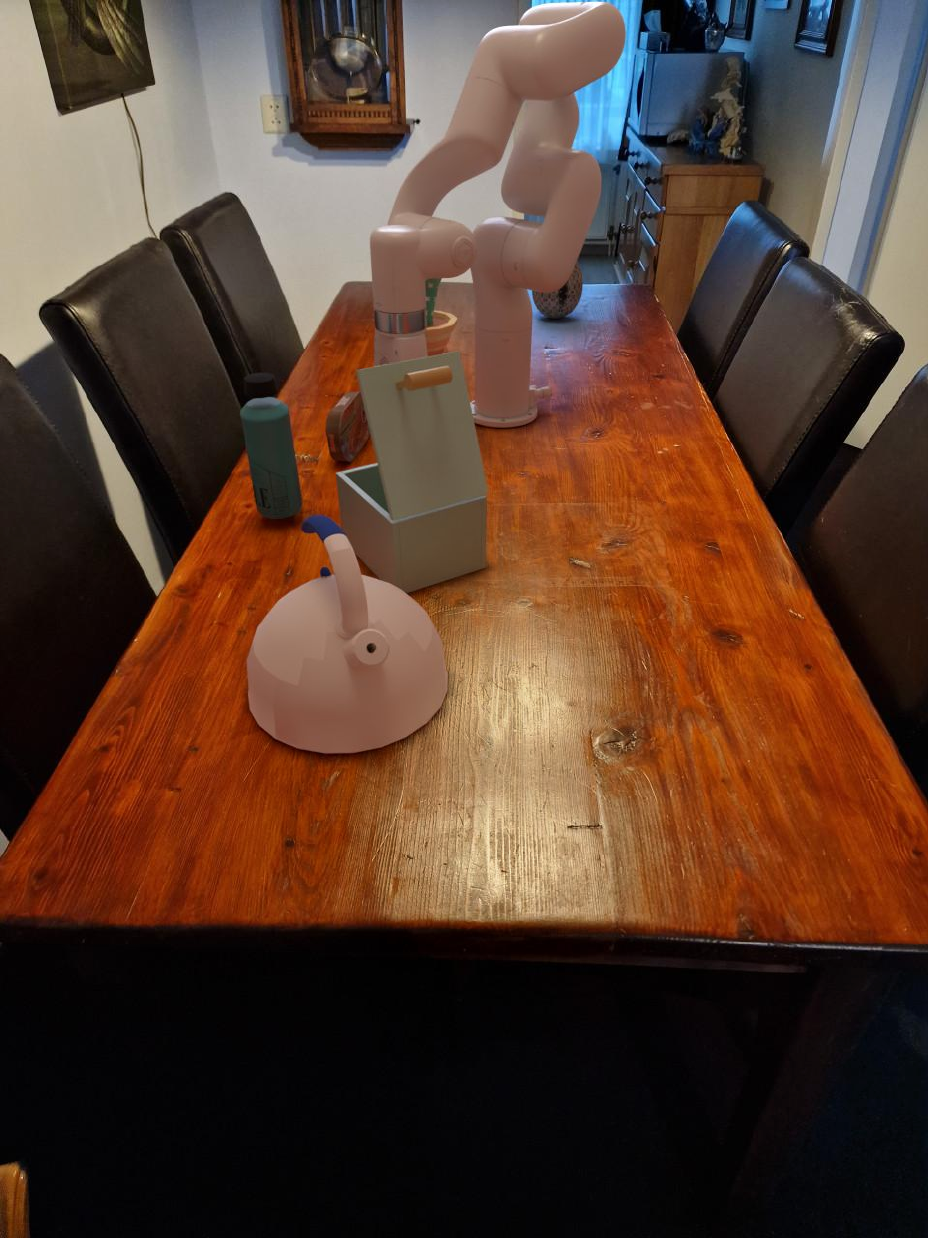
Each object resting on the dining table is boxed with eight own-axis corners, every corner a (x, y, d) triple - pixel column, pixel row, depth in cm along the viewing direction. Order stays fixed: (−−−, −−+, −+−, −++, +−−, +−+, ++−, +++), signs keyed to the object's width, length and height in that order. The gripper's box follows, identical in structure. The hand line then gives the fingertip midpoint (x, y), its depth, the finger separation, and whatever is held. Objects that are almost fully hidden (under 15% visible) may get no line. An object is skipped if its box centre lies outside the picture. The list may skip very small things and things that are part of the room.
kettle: (274, 785, 72) (241, 619, 62) (231, 653, 88) (199, 503, 77) (481, 722, 79) (484, 562, 68) (407, 610, 94) (400, 466, 84)
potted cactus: (472, 361, 168) (473, 229, 153) (408, 375, 161) (402, 238, 146) (432, 343, 178) (429, 217, 164) (370, 355, 171) (361, 225, 157)
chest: (342, 540, 108) (335, 472, 102) (425, 517, 113) (423, 451, 107) (396, 596, 97) (392, 523, 91) (486, 567, 102) (487, 497, 96)
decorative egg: (526, 312, 198) (529, 245, 190) (574, 310, 200) (578, 244, 191) (535, 325, 189) (538, 256, 180) (585, 323, 190) (590, 254, 181)
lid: (355, 370, 87) (372, 363, 83) (456, 351, 92) (478, 344, 88) (390, 520, 91) (409, 521, 87) (485, 493, 97) (507, 493, 92)
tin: (345, 470, 125) (340, 418, 121) (326, 469, 126) (320, 416, 121) (373, 433, 137) (370, 384, 133) (355, 431, 138) (351, 382, 133)
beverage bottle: (313, 511, 115) (295, 369, 103) (290, 533, 109) (269, 387, 98) (272, 504, 116) (250, 364, 105) (247, 525, 111) (222, 381, 100)
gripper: (351, 309, 123) (360, 422, 133) (405, 339, 111) (410, 460, 121) (396, 303, 126) (401, 413, 136) (453, 330, 114) (454, 450, 124)
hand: (405, 435), depth 129 cm, fingers open, 7 cm apart
